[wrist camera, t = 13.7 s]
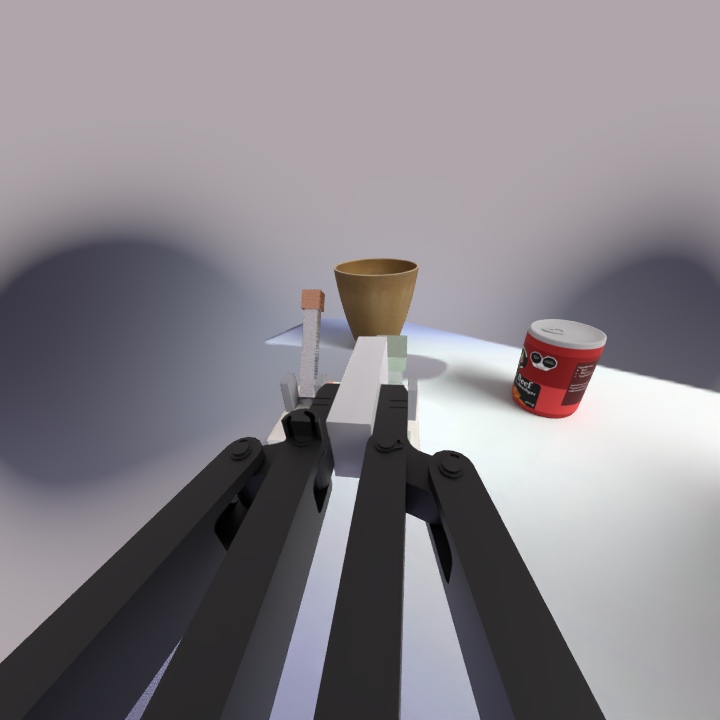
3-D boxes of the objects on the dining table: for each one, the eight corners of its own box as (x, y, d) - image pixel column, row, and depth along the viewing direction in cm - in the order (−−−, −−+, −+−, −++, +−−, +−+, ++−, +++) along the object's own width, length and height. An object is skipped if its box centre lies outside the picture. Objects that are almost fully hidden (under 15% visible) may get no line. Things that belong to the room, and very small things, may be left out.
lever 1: (318, 404, 37) (324, 294, 38) (314, 406, 35) (320, 289, 36) (301, 403, 37) (307, 294, 38) (295, 405, 35) (302, 289, 36)
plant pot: (382, 373, 48) (381, 279, 40) (326, 348, 57) (316, 268, 50) (428, 342, 57) (435, 261, 49) (374, 325, 67) (372, 254, 59)
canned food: (507, 382, 44) (524, 316, 39) (566, 390, 42) (593, 320, 36) (514, 414, 38) (536, 340, 32) (584, 424, 36) (620, 347, 30)
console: (416, 402, 41) (419, 358, 37) (418, 471, 31) (422, 420, 27) (304, 396, 44) (297, 354, 40) (272, 457, 33) (258, 409, 30)
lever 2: (404, 400, 35) (407, 335, 22) (403, 416, 34) (406, 358, 21) (384, 399, 35) (376, 335, 22) (383, 414, 34) (374, 357, 22)
